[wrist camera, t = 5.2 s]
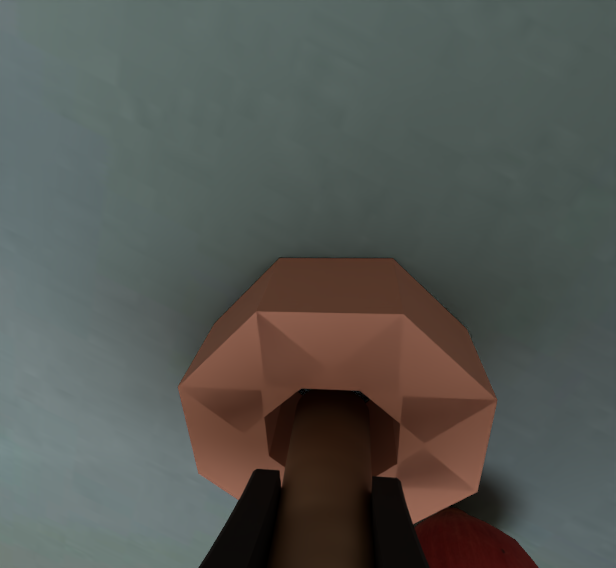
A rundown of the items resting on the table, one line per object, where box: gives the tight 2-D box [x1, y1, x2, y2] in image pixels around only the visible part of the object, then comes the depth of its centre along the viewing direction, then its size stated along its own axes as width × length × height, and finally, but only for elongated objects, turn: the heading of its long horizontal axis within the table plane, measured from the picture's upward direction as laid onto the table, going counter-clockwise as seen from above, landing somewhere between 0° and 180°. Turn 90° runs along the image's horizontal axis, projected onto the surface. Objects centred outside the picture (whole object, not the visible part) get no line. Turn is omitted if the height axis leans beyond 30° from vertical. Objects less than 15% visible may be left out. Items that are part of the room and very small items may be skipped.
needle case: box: [267, 389, 375, 568], centre depth 10 cm, size 2×2×8 cm
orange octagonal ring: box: [178, 258, 497, 524], centre depth 14 cm, size 9×9×4 cm
